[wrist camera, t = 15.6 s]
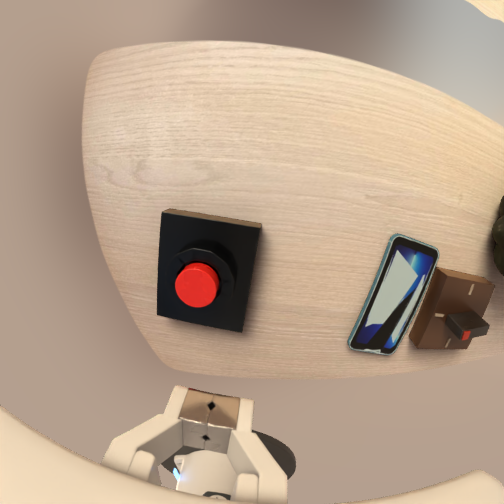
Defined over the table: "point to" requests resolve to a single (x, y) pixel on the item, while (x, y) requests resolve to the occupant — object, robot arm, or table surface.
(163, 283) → the switch box
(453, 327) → the dial knob
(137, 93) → the table surface
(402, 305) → the smartphone
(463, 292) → the dial panel
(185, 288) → the light button
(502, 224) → the squash
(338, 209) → the table surface
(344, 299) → the table surface
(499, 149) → the table surface
